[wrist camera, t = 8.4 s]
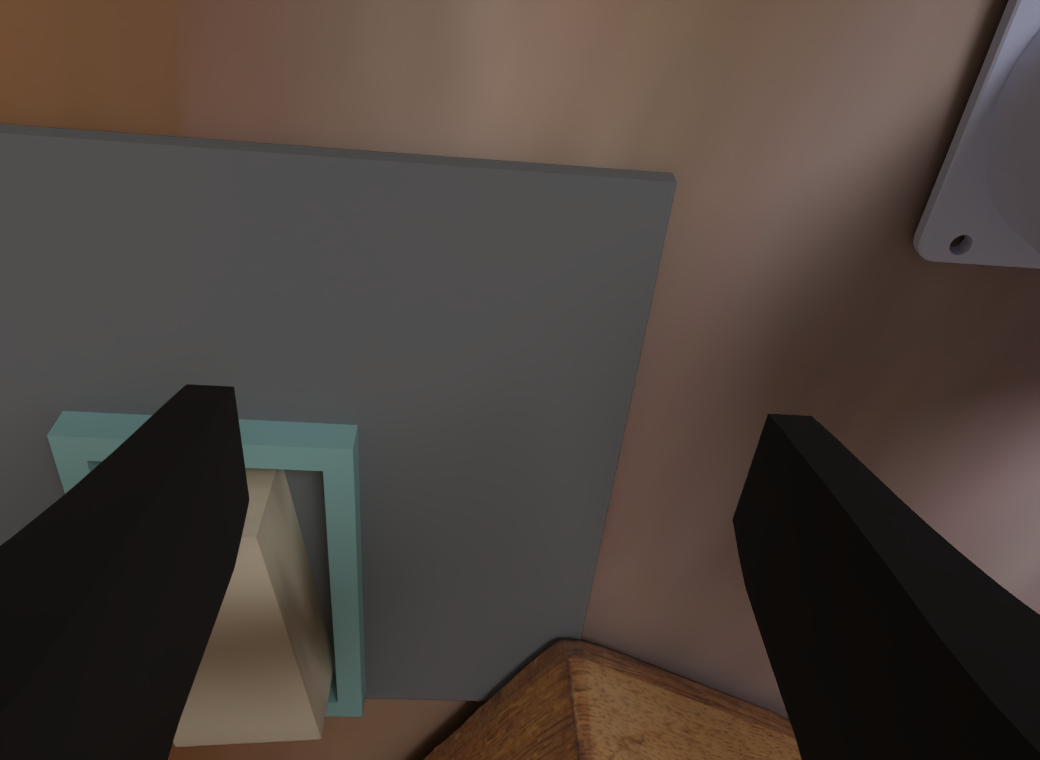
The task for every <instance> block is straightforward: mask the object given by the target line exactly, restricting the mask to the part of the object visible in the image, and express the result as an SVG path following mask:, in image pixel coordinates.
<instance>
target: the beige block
mask: <svg viewBox="0 0 1040 760" xmlns="http://www.w3.org/2000/svg"><path fill="white" fill-rule="evenodd" d="M245 470H246V477H247V485H248V492H249V499H250V500H249V505H248V509H247V514H246V519H245V524H244V529H243V533H242V538H241V542H240V547H239V551H238V555H237V560H236V564H235V568H234V571H233V574H232V577H231V579H230V582H229V585H228V588H227V591H226V594H225V597H224V599H223V602H222V605H221V608H220V611H219V613H218V616H217V619H216V622H215V625H214V627H213V630H212V633H211V636H210V638H209V641H208V644H207V647H206V649H205V652H204V655H203V658H202V660H201V663H200V666H199V669H198V671H197V674H196V677H195V680H194V682H193V685H192V688H191V691H190V693H189V696H188V699H187V702H186V704H185V707H184V710H183V713H182V715H181V718H180V721H179V724H178V727H177V731H176V734H175V737H174V740H173V743H174V745H175V747H185V746H205V745H224V744H243V743H262V742H282V741H301V740H320V739H322V733H323V727H324V721H325V715H326V709H327V703H328V697H329V691H330V685H331V679H332V673H333V667H334V661H335V653H334V650H333V646H332V642H331V639H330V635H329V632H328V628H327V624H326V621H325V617H324V613H323V610H322V606H321V602H320V599H319V595H318V592H317V588H316V584H315V581H314V577H313V573H312V570H311V566H310V563H309V559H308V555H307V552H306V548H305V544H304V541H303V537H302V534H301V530H300V526H299V523H298V519H297V515H296V512H295V508H294V505H293V501H292V497H291V494H290V490H289V486H288V483H287V479H286V475H285V472H284V469H261V468H245Z"/></svg>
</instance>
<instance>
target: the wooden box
mask: <svg viewBox="0 0 1040 760" xmlns="http://www.w3.org/2000/svg"><path fill="white" fill-rule="evenodd" d="M423 760H802V759H801V756H800V752H799V749H798V745H797V742H796V738H795V735H794V732H793V729H792V726H791V723H790V720H788V719H786V718H783V717H781V716H779V715H778V714H776V713H774V712H771V711H769V710H766V709H763V708H761V707H758V706H755V705H753V704H750V703H748V702H745V701H742V700H740V699H737V698H734V697H732V696H729V695H726V694H724V693H721V692H718V691H716V690H713V689H711V688H709V687H707V686H704V685H701V684H699V683H696V682H693V681H690V680H688V679H685V678H682V677H680V676H677V675H675V674H672V673H670V672H668V671H666V670H662V669H660V668H657V667H654V666H651V665H649V664H647V663H644V662H641V661H639V660H636V659H634V658H632V657H629V656H627V655H624V654H621V653H619V652H616V651H613V650H610V649H607V648H605V647H602V646H599V645H595V644H592V643H589V642H586V641H581V640H575V639H561V640H559V641H558V642H556V643H555V644H553V645H552V646H550V647H549V648H548V649H546V650H545V651H544V652H542V653H541V654H540V655H539V656H538V657H537V658H535V659H534V660H533V661H531V662H530V663H529V664H528V665H527V666H526V667H525V668H523V669H522V670H521V671H520V672H519V673H518V674H517V675H516V676H515V677H514V678H513V679H512V680H511V681H509V682H508V683H507V684H506V685H505V686H504V687H503V688H502V689H500V690H499V691H498V692H497V693H496V694H495V695H494V696H493V697H492V698H491V699H490V700H488V701H487V702H486V703H485V704H484V705H482V706H481V707H480V708H478V710H477V711H476V712H475V713H474V714H473V715H472V716H471V717H469V718H468V719H467V721H466V722H465V723H464V724H463V725H462V726H460V727H459V728H458V729H457V730H456V731H455V732H454V733H453V734H451V735H450V736H449V737H448V738H447V739H446V740H445V741H443V742H442V743H441V744H440V745H438V746H437V747H435V748H434V750H433V751H432V752H431V753H430V754H429V755H427V756H426V757H425V758H424V759H423Z"/></svg>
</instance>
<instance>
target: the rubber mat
mask: <svg viewBox="0 0 1040 760" xmlns="http://www.w3.org/2000/svg"><path fill="white" fill-rule="evenodd" d="M676 183H677V182H676V180H675V177H674V175H673V173H662V172H648V171H634V170H621V169H607V168H594V167H580V166H566V165H553V164H539V163H526V162H512V161H498V160H485V159H471V158H458V157H444V156H430V155H417V154H403V153H390V152H376V151H362V150H349V149H335V148H322V147H308V146H294V145H281V144H267V143H253V142H240V141H226V140H213V139H199V138H185V137H172V136H158V135H145V134H131V133H117V132H104V131H90V130H77V129H63V128H49V127H36V126H22V125H9V124H0V546H1V545H2V544H3V543H5V542H6V541H7V540H9V539H10V538H11V537H12V536H14V535H15V534H16V533H17V532H19V531H20V530H21V529H22V528H24V527H25V526H26V525H27V524H29V523H30V522H31V521H32V520H34V519H35V518H36V517H37V516H39V515H40V514H41V513H42V512H43V511H45V510H46V509H47V508H48V507H50V506H51V505H52V504H53V503H55V502H56V501H57V500H58V499H60V498H61V497H62V496H63V495H64V494H65V492H64V489H63V486H62V482H61V479H60V476H59V473H58V470H57V466H56V463H55V460H54V457H53V454H52V450H51V447H50V444H49V441H48V438H47V435H48V433H49V432H50V430H51V429H52V427H53V425H54V424H55V422H56V421H57V419H58V418H59V416H60V415H61V413H62V411H76V412H97V413H118V414H139V415H153V414H154V413H155V412H156V411H157V410H159V409H160V408H161V407H162V406H163V405H164V404H165V403H166V402H167V401H168V400H169V399H170V398H172V397H173V396H174V395H175V394H176V393H177V392H178V391H179V390H181V389H182V388H183V387H184V386H185V385H186V384H193V385H212V386H232V387H234V390H235V397H236V404H237V411H238V419H243V420H263V421H284V422H305V423H326V424H347V425H358V452H359V485H360V518H361V551H362V584H363V617H364V650H365V684H366V693H365V698H369V699H413V700H456V701H488V700H490V699H491V698H492V697H493V696H494V695H495V694H496V693H497V692H498V691H499V690H500V689H502V688H503V687H504V686H505V685H506V684H507V683H508V682H509V681H511V680H512V679H513V678H514V677H515V676H516V675H517V674H518V673H519V672H520V671H521V670H522V669H523V668H525V667H526V666H527V665H528V664H529V663H530V662H531V661H533V660H534V659H535V658H537V657H538V656H539V655H540V654H541V653H542V652H544V651H545V650H546V649H548V648H549V647H550V646H552V645H553V644H555V643H556V642H558V641H559V640H561V639H575V640H580V639H581V635H582V630H583V625H584V620H585V616H586V611H587V606H588V601H589V597H590V592H591V587H592V582H593V578H594V573H595V568H596V563H597V559H598V554H599V549H600V544H601V540H602V535H603V530H604V525H605V521H606V516H607V511H608V506H609V502H610V497H611V492H612V487H613V483H614V478H615V473H616V468H617V464H618V459H619V454H620V449H621V445H622V440H623V435H624V430H625V426H626V421H627V416H628V411H629V407H630V402H631V397H632V392H633V387H634V383H635V378H636V373H637V368H638V364H639V359H640V354H641V349H642V345H643V340H644V335H645V330H646V326H647V321H648V316H649V311H650V307H651V302H652V297H653V292H654V288H655V283H656V278H657V273H658V269H659V264H660V259H661V254H662V250H663V245H664V240H665V235H666V231H667V226H668V221H669V216H670V212H671V207H672V202H673V197H674V193H675V188H676ZM284 472H285V475H286V479H287V483H288V486H289V490H290V494H291V497H292V501H293V505H294V508H295V512H296V515H297V519H298V523H299V526H300V530H301V534H302V537H303V541H304V544H305V548H306V552H307V555H308V559H309V563H310V566H311V570H312V573H313V577H314V581H315V584H316V588H317V592H318V595H319V599H320V602H321V606H322V610H323V613H324V617H325V621H326V624H327V628H328V632H329V635H330V639H331V642H332V646H333V650H334V635H333V619H332V604H331V588H330V572H329V557H328V541H327V526H326V510H325V494H324V479H323V471H307V470H284ZM334 653H335V651H334ZM332 677H336V666H335V661H334V667H333V673H332Z"/></svg>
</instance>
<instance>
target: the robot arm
mask: <svg viewBox="0 0 1040 760" xmlns="http://www.w3.org/2000/svg"><path fill="white" fill-rule="evenodd" d="M961 235H965V236H964V239H963V240H962V242H961V243H960V244H958V245H957V246H955V247H950V244H951V242H952V241H953V240H954V239H955V238H957V237H958V236H961ZM913 245H914V249H915V250H916V251H917V253H918V254H919V255H920V256H921V257H922V258H923V259H924V260H928V261H931V262H945V263H960V264H975V265H990V266H1005V267H1020V268H1035V269H1040V0H1009V1H1008V3H1007V6H1006V8H1005V10H1004V13H1003V15H1002V18H1001V20H1000V23H999V25H998V28H997V30H996V33H995V35H994V38H993V40H992V43H991V45H990V48H989V50H988V53H987V55H986V58H985V60H984V63H983V65H982V68H981V70H980V73H979V75H978V78H977V80H976V83H975V85H974V88H973V90H972V93H971V95H970V98H969V100H968V103H967V105H966V108H965V110H964V113H963V115H962V118H961V120H960V123H959V125H958V128H957V130H956V133H955V135H954V138H953V140H952V143H951V145H950V148H949V150H948V153H947V155H946V158H945V160H944V163H943V165H942V167H941V170H940V172H939V175H938V177H937V180H936V182H935V185H934V187H933V190H932V192H931V195H930V197H929V200H928V202H927V205H926V207H925V210H924V212H923V215H922V217H921V220H920V222H919V225H918V227H917V230H916V232H915V235H914V239H913ZM249 500H250V499H249V492H248V485H247V477H246V470H245V463H244V455H243V448H242V441H241V433H240V426H239V419H238V411H237V404H236V397H235V390H234V387H232V386H212V385H193V384H186V385H185V386H184V387H183V388H182V389H181V390H179V391H178V392H177V393H176V394H175V395H174V396H173V397H172V398H170V399H169V400H168V401H167V402H166V403H165V404H164V405H163V406H162V407H161V408H160V409H159V410H157V411H156V412H155V413H154V414H153V415H152V416H151V417H150V418H149V419H148V420H147V421H146V422H145V423H144V424H143V425H141V426H140V427H139V428H138V429H137V430H136V431H135V432H134V433H133V434H132V435H131V436H130V437H129V438H127V439H126V440H125V441H124V442H123V443H122V444H121V445H120V446H119V447H118V448H117V449H116V450H114V451H113V452H112V453H111V454H110V455H109V456H108V457H107V458H105V459H104V460H103V461H102V462H101V463H100V464H99V465H98V466H96V467H95V468H94V469H93V470H92V471H91V472H90V473H88V474H87V475H86V476H85V477H84V478H83V479H82V480H81V481H79V482H78V483H77V484H76V485H75V486H74V487H73V488H71V489H70V490H69V491H68V492H67V493H66V494H64V495H63V496H62V497H61V498H60V499H58V500H57V501H56V502H55V503H53V504H52V505H51V506H50V507H48V508H47V509H46V510H45V511H43V512H42V513H41V514H40V515H39V516H37V517H36V518H35V519H34V520H32V521H31V522H30V523H29V524H27V525H26V526H25V527H24V528H22V529H21V530H20V531H19V532H17V533H16V534H15V535H14V536H12V537H11V538H10V539H9V540H7V541H6V542H5V543H3V544H2V545H1V546H0V760H168V756H169V753H170V750H171V747H172V743H173V740H174V737H175V734H176V731H177V727H178V724H179V721H180V718H181V715H182V713H183V710H184V707H185V704H186V702H187V699H188V696H189V693H190V691H191V688H192V685H193V682H194V680H195V677H196V674H197V671H198V669H199V666H200V663H201V660H202V658H203V655H204V652H205V649H206V647H207V644H208V641H209V638H210V636H211V633H212V630H213V627H214V625H215V622H216V619H217V616H218V613H219V611H220V608H221V605H222V602H223V599H224V597H225V594H226V591H227V588H228V585H229V582H230V579H231V577H232V574H233V571H234V568H235V564H236V560H237V555H238V551H239V547H240V542H241V538H242V533H243V529H244V524H245V519H246V514H247V509H248V505H249ZM733 524H734V530H735V535H736V541H737V547H738V553H739V558H740V563H741V568H742V573H743V578H744V583H745V587H746V590H747V593H748V596H749V600H750V603H751V606H752V609H753V612H754V615H755V618H756V621H757V624H758V627H759V630H760V633H761V636H762V639H763V642H764V645H765V648H766V651H767V654H768V657H769V660H770V663H771V666H772V669H773V672H774V675H775V678H776V681H777V684H778V687H779V690H780V693H781V696H782V699H783V702H784V705H785V708H786V711H787V714H788V717H789V720H790V723H791V726H792V729H793V732H794V735H795V738H796V742H797V745H798V749H799V752H800V756H801V759H802V760H1040V615H1039V614H1038V613H1036V612H1035V611H1033V610H1032V609H1031V608H1029V607H1028V606H1027V605H1025V604H1024V603H1022V602H1021V601H1020V600H1018V599H1017V598H1016V597H1015V596H1013V595H1012V594H1011V593H1009V592H1008V591H1007V590H1006V589H1004V588H1003V587H1002V586H1000V585H999V584H998V583H997V582H995V581H994V580H993V579H992V578H990V577H989V576H988V575H987V574H986V573H984V572H983V571H982V570H981V569H980V568H978V567H977V566H976V565H975V564H974V563H972V562H971V561H970V560H969V559H968V558H966V557H965V556H964V555H963V554H962V553H960V552H959V551H958V550H957V549H955V548H954V547H953V546H952V545H951V544H950V543H949V542H947V541H946V540H945V539H944V538H943V537H942V536H941V535H939V534H938V533H937V532H936V531H935V530H934V529H933V528H931V527H930V526H929V525H928V524H927V523H926V522H925V521H924V520H922V519H921V518H920V517H919V516H918V515H917V514H916V513H915V512H914V511H913V510H911V509H910V508H909V507H908V506H907V505H906V504H905V503H904V502H903V501H902V500H901V499H900V498H898V497H897V496H896V495H895V494H894V493H893V492H892V491H891V490H890V489H889V488H888V487H887V486H886V485H885V484H884V483H882V482H881V481H880V480H879V479H878V478H877V477H876V476H875V475H874V474H873V473H872V472H871V471H870V470H869V469H868V468H867V467H866V466H865V465H864V464H863V463H861V462H860V461H859V460H858V459H857V458H856V457H855V456H854V455H853V454H852V453H851V452H850V451H849V450H848V449H847V448H846V447H845V446H844V445H843V444H841V443H840V442H839V441H838V440H837V439H836V438H835V437H834V436H833V435H832V434H831V433H830V432H829V431H828V430H826V429H825V428H824V427H823V426H822V425H821V424H820V423H819V422H817V421H816V420H815V419H814V418H813V417H812V416H799V415H780V414H768V416H767V419H766V422H765V425H764V428H763V431H762V434H761V437H760V440H759V443H758V446H757V449H756V452H755V455H754V458H753V461H752V464H751V467H750V470H749V473H748V476H747V478H746V481H745V484H744V487H743V490H742V493H741V496H740V499H739V502H738V505H737V508H736V511H735V514H734V517H733Z"/></svg>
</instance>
